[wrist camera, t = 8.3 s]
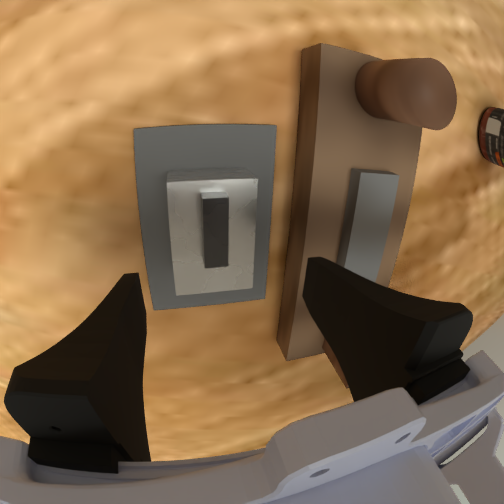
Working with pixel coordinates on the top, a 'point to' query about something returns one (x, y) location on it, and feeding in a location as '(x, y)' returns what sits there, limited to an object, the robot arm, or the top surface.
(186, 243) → the light switch plate
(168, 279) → the rubber mat
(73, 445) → the robot arm
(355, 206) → the body
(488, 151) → the supplement bottle
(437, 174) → the top surface
